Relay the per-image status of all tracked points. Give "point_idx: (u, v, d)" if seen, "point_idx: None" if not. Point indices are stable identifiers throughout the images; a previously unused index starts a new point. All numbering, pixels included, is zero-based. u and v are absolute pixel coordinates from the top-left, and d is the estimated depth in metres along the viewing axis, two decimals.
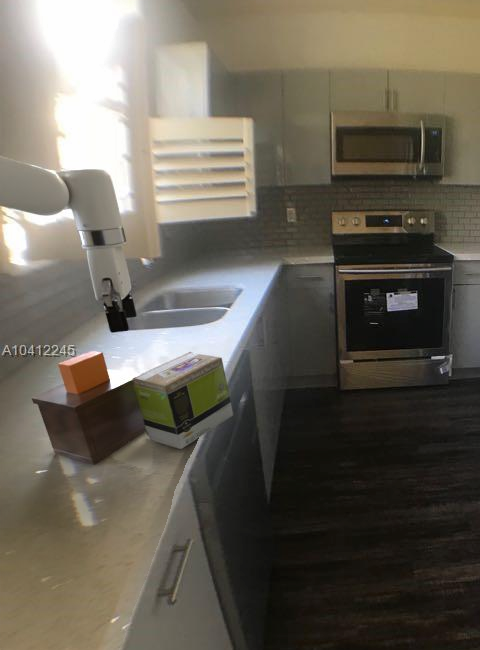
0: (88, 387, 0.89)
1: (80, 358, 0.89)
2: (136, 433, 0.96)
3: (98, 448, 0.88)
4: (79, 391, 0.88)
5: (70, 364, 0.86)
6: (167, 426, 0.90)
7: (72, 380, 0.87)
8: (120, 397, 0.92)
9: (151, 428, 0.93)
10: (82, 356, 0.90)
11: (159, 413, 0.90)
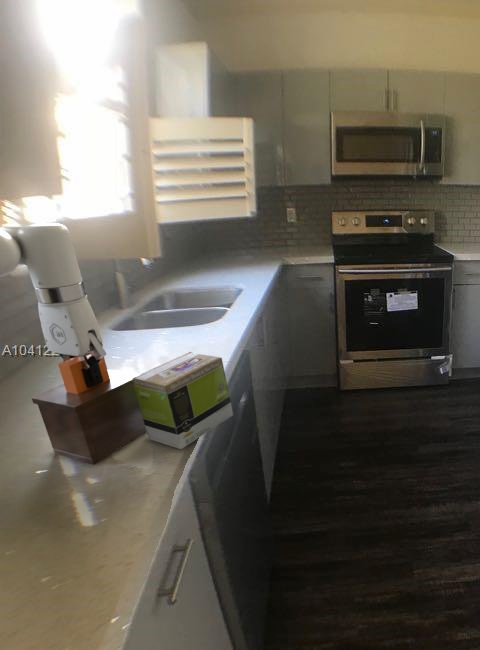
0: None
1: None
2: (136, 433, 0.96)
3: (98, 448, 0.88)
4: (79, 391, 0.88)
5: (70, 364, 0.86)
6: (167, 426, 0.90)
7: (72, 380, 0.87)
8: (120, 397, 0.92)
9: (151, 428, 0.93)
10: None
11: (159, 413, 0.90)
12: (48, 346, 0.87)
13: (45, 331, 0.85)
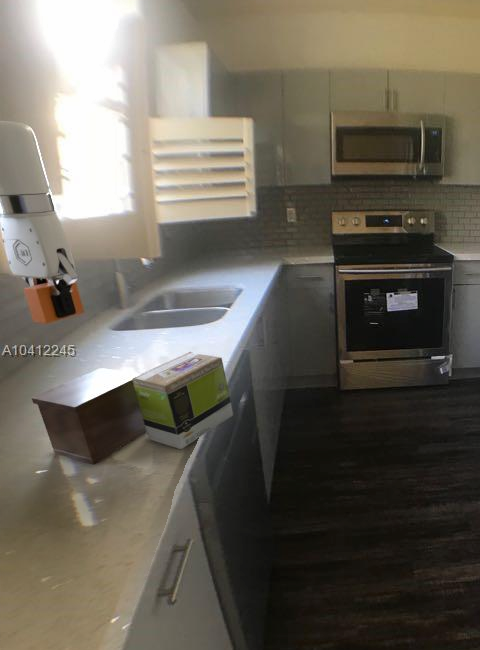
0: None
1: None
2: (136, 433, 0.96)
3: (98, 448, 0.88)
4: (48, 320, 0.78)
5: (37, 288, 0.76)
6: (167, 426, 0.90)
7: (40, 306, 0.77)
8: (120, 397, 0.92)
9: (151, 428, 0.93)
10: None
11: (159, 413, 0.90)
12: (12, 269, 0.77)
13: (8, 250, 0.76)
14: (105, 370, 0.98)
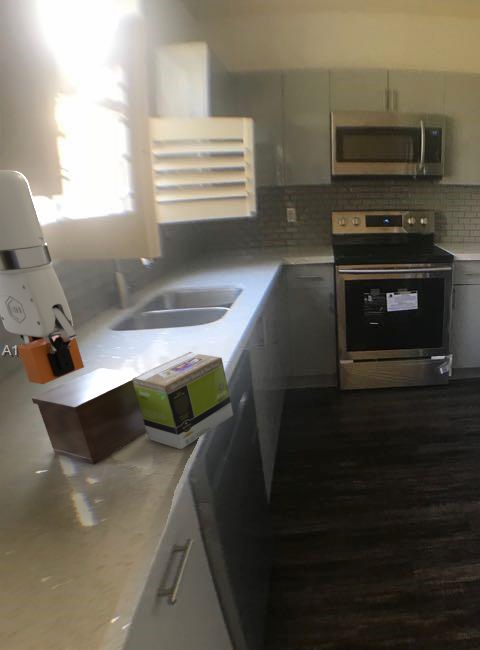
0: None
1: None
2: (136, 433, 0.96)
3: (98, 448, 0.88)
4: (44, 380, 0.72)
5: (32, 347, 0.70)
6: (167, 426, 0.90)
7: (35, 366, 0.70)
8: (120, 397, 0.92)
9: (151, 428, 0.93)
10: None
11: (159, 413, 0.90)
12: (5, 325, 0.71)
13: (1, 306, 0.69)
14: (105, 370, 0.98)
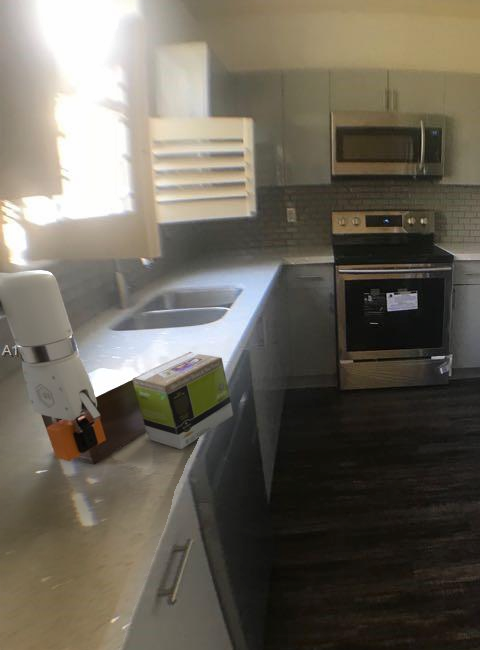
0: None
1: None
2: (136, 433, 0.96)
3: (98, 448, 0.88)
4: (70, 458, 0.77)
5: (60, 428, 0.75)
6: (167, 426, 0.90)
7: (62, 446, 0.76)
8: (120, 397, 0.92)
9: (151, 428, 0.93)
10: None
11: (159, 413, 0.90)
12: (34, 407, 0.76)
13: (31, 391, 0.75)
14: (105, 370, 0.98)
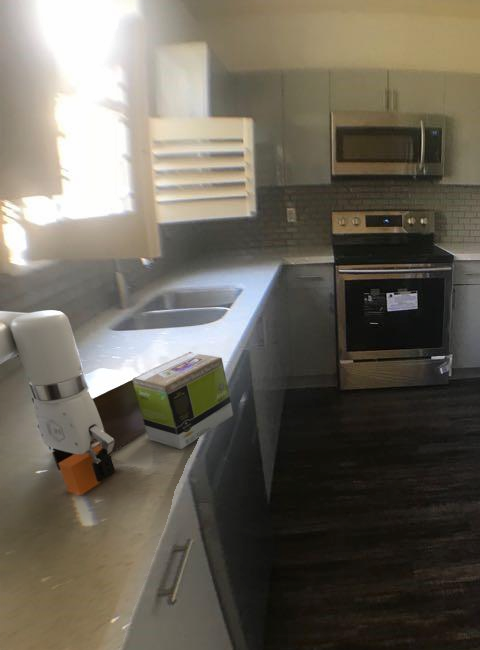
0: (92, 485, 0.81)
1: (83, 454, 0.81)
2: (136, 433, 0.96)
3: None
4: (82, 492, 0.80)
5: (72, 464, 0.78)
6: (167, 426, 0.90)
7: (74, 481, 0.78)
8: (120, 397, 0.92)
9: (151, 428, 0.93)
10: None
11: (159, 413, 0.90)
12: (44, 441, 0.78)
13: (41, 425, 0.77)
14: (105, 370, 0.98)
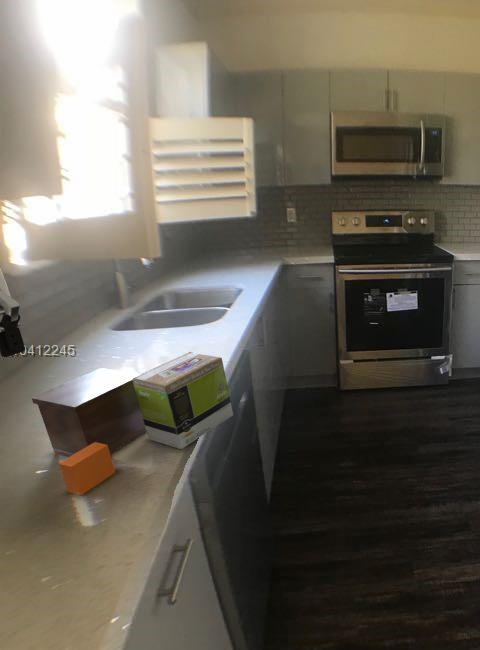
0: (92, 485, 0.81)
1: (83, 454, 0.81)
2: (136, 433, 0.96)
3: None
4: (82, 492, 0.80)
5: (72, 464, 0.78)
6: (167, 426, 0.90)
7: (74, 481, 0.78)
8: (120, 397, 0.92)
9: (151, 428, 0.93)
10: (85, 451, 0.81)
11: (159, 413, 0.90)
12: None
13: None
14: (105, 370, 0.98)
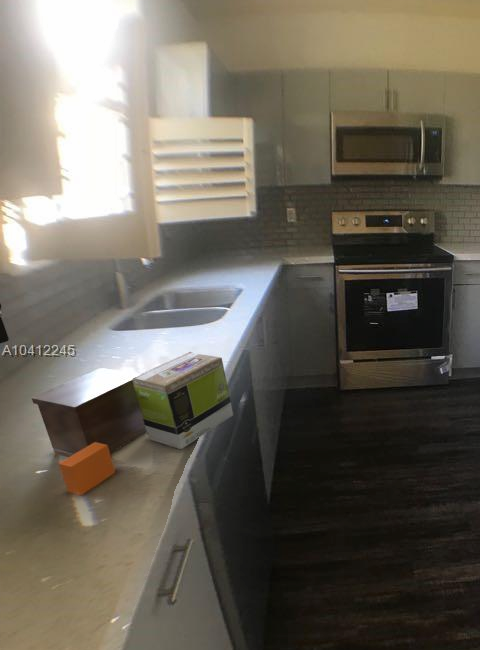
0: (92, 485, 0.81)
1: (83, 454, 0.81)
2: (136, 433, 0.96)
3: None
4: (82, 492, 0.80)
5: (72, 464, 0.78)
6: (167, 426, 0.90)
7: (74, 481, 0.78)
8: (120, 397, 0.92)
9: (151, 428, 0.93)
10: (85, 451, 0.81)
11: (159, 413, 0.90)
12: None
13: None
14: (105, 370, 0.98)
